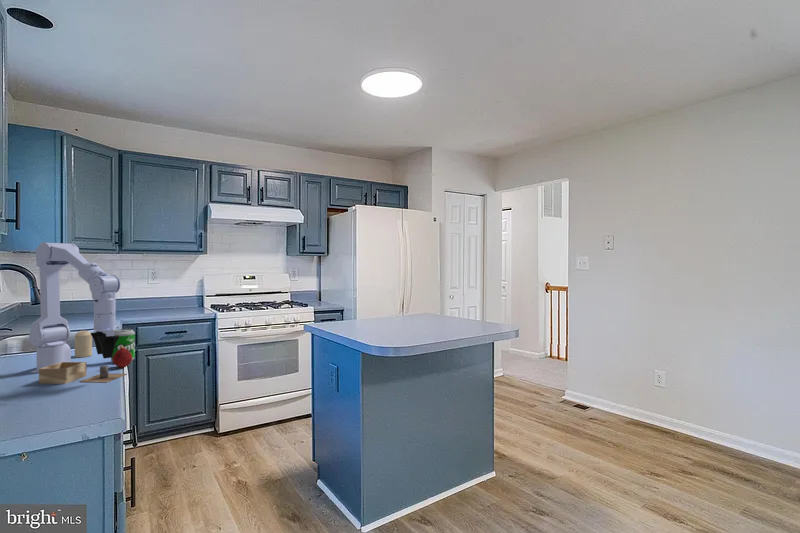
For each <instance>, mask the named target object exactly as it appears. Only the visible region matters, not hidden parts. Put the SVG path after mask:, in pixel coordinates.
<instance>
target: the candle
mask: <svg viewBox="0 0 800 533" xmlns="http://www.w3.org/2000/svg"><path fill="white" fill-rule="evenodd" d="M90 333H91V332H90V331H88V330H80V331H78V332H76V333H75V335H74V357H75V358H87V357H88V356H89V357H92V356H93V337H92V336H91V334H90ZM89 357H88V358H89Z"/></svg>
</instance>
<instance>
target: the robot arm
mask: <svg viewBox="0 0 800 533" xmlns="http://www.w3.org/2000/svg"><path fill="white" fill-rule="evenodd" d="M35 263H36V267H38V268H39V293H40V294H39V297H40V298H39V300H40V301H39V302H40V317H39V318H37V319H36V320H35V321H34V322H32V323H31V324H30V332H29V334H28V335H29V336H28V338H29V341H30V344H31V345H32V346H33V347H36V369H35V370H32V371H30V373H34V374H35V373H38V374H39V369H40V368H44V367H47V366H50V365H53V364H57V363H60V362H72V361H71V358H72V351H71V347H70V345H69V344H68V343H67V341H68V340H69V339H70V337H71V329H70V326H69V322H68V320H67V319H66V318H64V317H62V316H61V300H60V297H61V295H60V294H61V293H60V270H61V269H62V268H64V267H66V266H69V265H71V266H72V267H73V268H75V269H76V270H77V271H78V276H79V277H80V278H81V279H83V281H85V282H86V283H87V284H88V287H89V290H90V292H91V298H92V300H93V327H92V330H93V331H94V332H90V334H91V336H92V340H93V342H94V345H95V349H96V354H97V355H102V358H103V359H111V357H112V354H113V350H114V347H115V344H116V342H117V340H118V338H119V335H114V330H118V329H120V328H121V327H120V325H116V308H117V306H116V303H117V302H116V300H117V299H116V298H117V297H116V296H117V295H116V293H118V292H119V291H120V289H121V281H120V279H119V277H118V276H117V275H115V274H108V273H107V272H106V271H104V270H103V269H102V268H101V267H100V266H99V264H98V263H96V262H89V261H88V260H87V259H86V258H85V257H84V256H83V255H82V254H81V253H80V248H79V247H78V246H77V245H76V244H75V243H72V242H70V243H63V242H62V243H61V242H45V241H43V242H40V244H39V245H38V246H37V247H36V249H35Z"/></svg>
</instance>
